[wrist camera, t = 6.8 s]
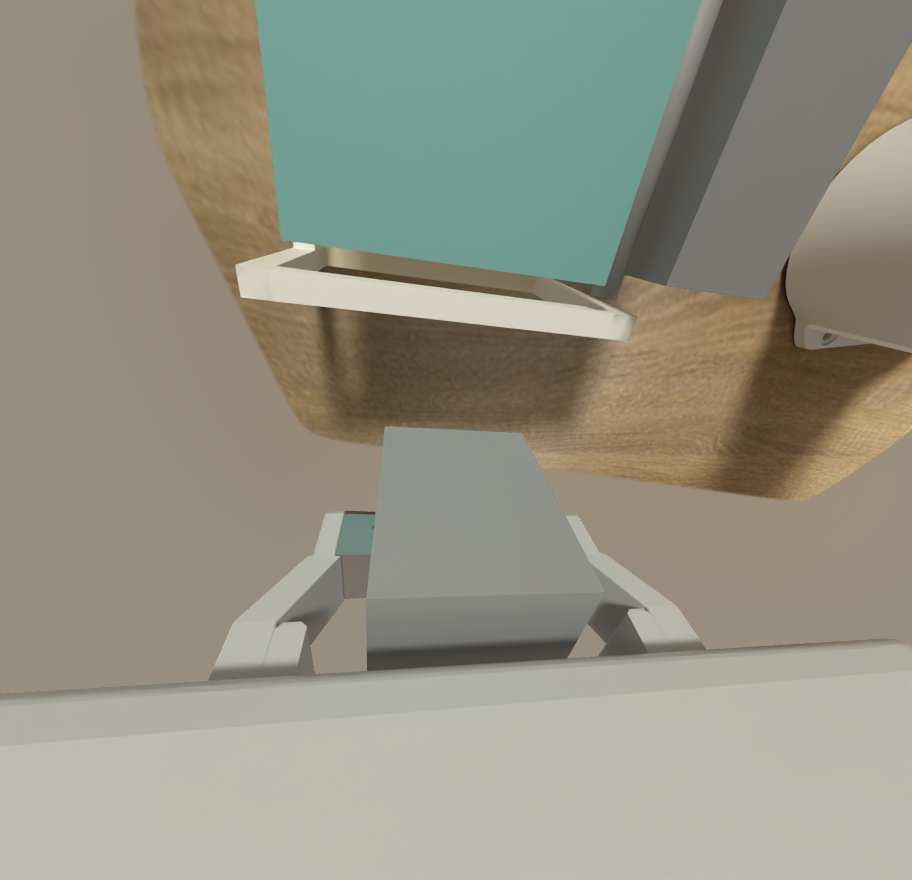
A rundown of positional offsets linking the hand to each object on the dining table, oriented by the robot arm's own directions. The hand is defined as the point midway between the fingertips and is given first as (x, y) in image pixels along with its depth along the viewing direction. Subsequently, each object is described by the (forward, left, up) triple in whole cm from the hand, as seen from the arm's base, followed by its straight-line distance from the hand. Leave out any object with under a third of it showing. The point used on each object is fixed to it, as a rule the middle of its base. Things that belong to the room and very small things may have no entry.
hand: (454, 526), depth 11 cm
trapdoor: (-3, -13, -11) cm, 18 cm away
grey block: (0, 0, -2) cm, 2 cm away
